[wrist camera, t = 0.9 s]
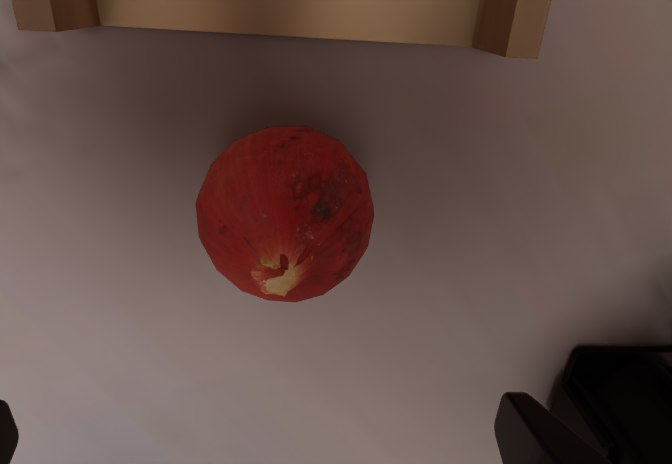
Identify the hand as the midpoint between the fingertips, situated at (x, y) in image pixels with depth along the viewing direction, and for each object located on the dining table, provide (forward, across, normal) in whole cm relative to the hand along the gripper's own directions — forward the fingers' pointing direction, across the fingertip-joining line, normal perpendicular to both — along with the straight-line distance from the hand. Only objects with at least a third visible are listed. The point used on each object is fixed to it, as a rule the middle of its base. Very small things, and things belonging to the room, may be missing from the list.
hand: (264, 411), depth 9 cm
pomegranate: (+12, 0, 0) cm, 12 cm away
